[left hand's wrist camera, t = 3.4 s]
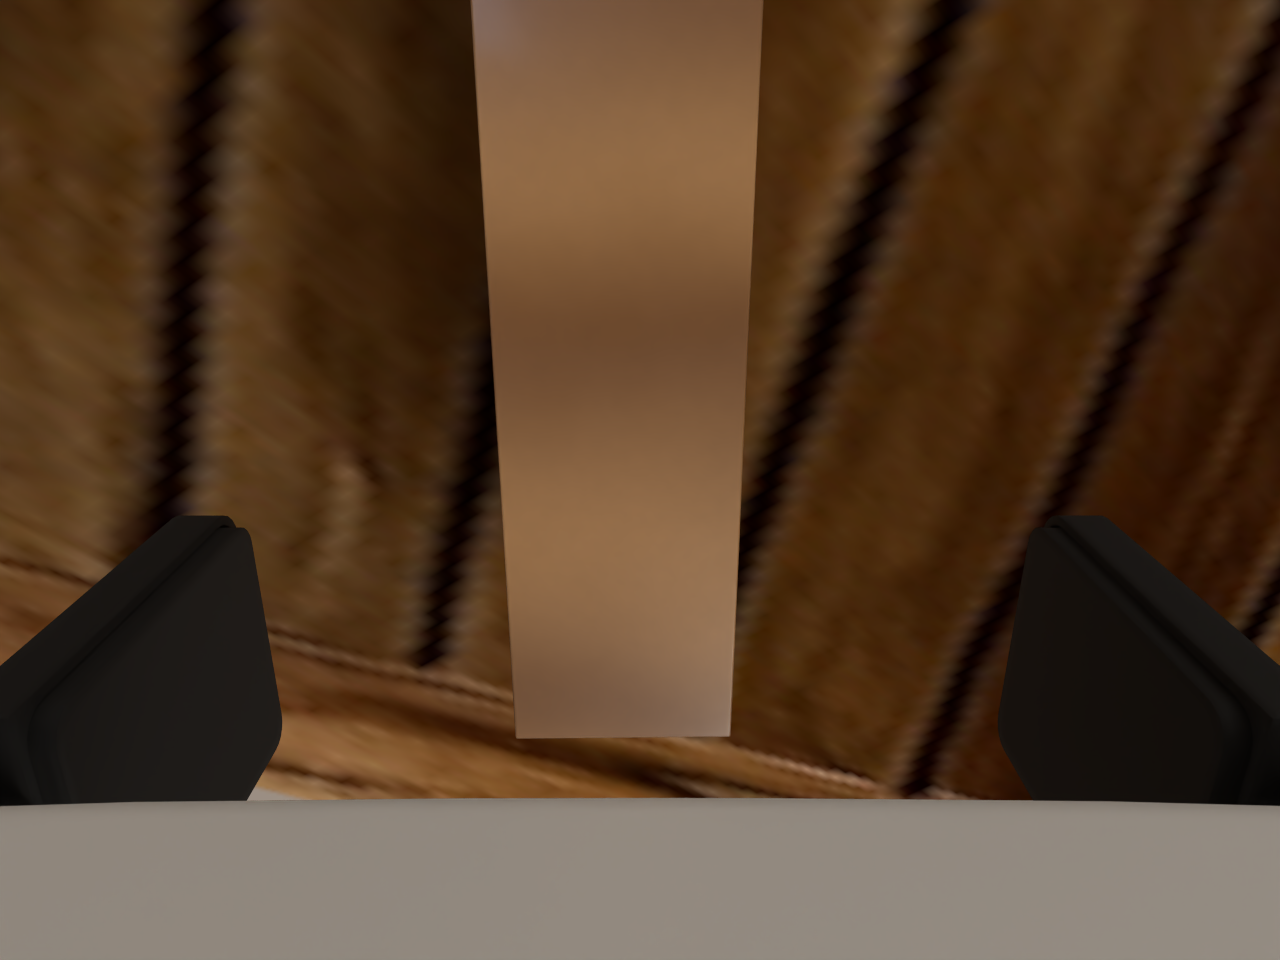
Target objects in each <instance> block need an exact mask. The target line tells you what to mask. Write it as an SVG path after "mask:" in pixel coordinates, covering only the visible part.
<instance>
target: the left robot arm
mask: <svg viewBox="0 0 1280 960" xmlns="http://www.w3.org/2000/svg"><path fill="white" fill-rule="evenodd" d="M281 731H282V714H281V708H280V703H279V697H278V691H277V685H276V679H275V674H274V668H273V662H272V656H271V651H270V645H269V639H268V633H267V627H266V622H265V616H264V610H263V604H262V599H261V593H260V587H259V581H258V576H257V570H256V564H255V558H254V552H253V547H252V542H251V538H250V535H249V533H248V531H247V530H246V529H245V528H236V526H235V524H234V522H233V520H232V519H230V518H229V517H228V516H176V517H174V518H172V519H171V520H170V521H169V522H168V523H167V524H165V525H164V526H163V527H162V528H161V529H160V530H158V531H157V532H156V533H155V534H154V535H153V536H151V537H150V538H149V539H148V540H147V541H146V542H144V543H143V544H142V545H141V546H140V547H139V548H137V549H136V550H135V551H134V552H133V553H132V554H130V555H129V556H128V557H127V558H126V559H125V560H123V561H122V562H121V563H120V564H119V565H118V566H116V567H115V568H114V569H113V570H112V571H111V572H109V573H108V574H107V575H106V576H105V577H104V578H102V579H101V580H100V581H99V582H98V583H97V584H95V585H94V586H93V587H92V588H91V589H90V590H88V591H87V592H86V593H85V594H84V595H83V596H81V597H80V598H79V599H78V600H77V601H76V602H74V603H73V604H72V605H71V606H70V607H69V608H67V609H66V610H65V611H64V612H63V613H62V614H60V615H59V616H58V617H57V618H56V619H55V620H53V621H52V622H51V623H50V624H49V625H48V626H46V627H45V628H44V629H43V630H42V631H41V632H39V633H38V634H37V635H36V636H35V637H34V638H32V639H31V640H30V641H29V642H28V643H27V644H25V645H24V646H23V647H22V648H21V649H20V650H18V651H17V652H16V653H15V654H14V655H13V656H11V657H10V658H9V659H8V660H7V661H6V662H4V663H3V664H2V665H1V666H0V960H1280V666H1279V665H1278V664H1277V663H1276V662H1274V661H1273V660H1272V659H1271V658H1270V657H1269V656H1267V655H1266V654H1265V653H1264V652H1263V651H1262V650H1260V649H1259V648H1258V647H1257V646H1256V645H1255V644H1253V643H1252V642H1251V641H1250V640H1249V639H1248V638H1246V637H1245V636H1244V635H1243V634H1242V633H1241V632H1239V631H1238V630H1237V629H1236V628H1235V627H1234V626H1232V625H1231V624H1230V623H1229V622H1228V621H1227V620H1225V619H1224V618H1223V617H1222V616H1221V615H1220V614H1218V613H1217V612H1216V611H1215V610H1214V609H1213V608H1211V607H1210V606H1209V605H1208V604H1207V603H1206V602H1204V601H1203V600H1202V599H1201V598H1200V597H1199V596H1197V595H1196V594H1195V593H1194V592H1193V591H1192V590H1190V589H1189V588H1188V587H1187V586H1186V585H1185V584H1183V583H1182V582H1181V581H1180V580H1179V579H1178V578H1176V577H1175V576H1174V575H1173V574H1172V573H1171V572H1169V571H1168V570H1167V569H1166V568H1165V567H1164V566H1162V565H1161V564H1160V563H1159V562H1158V561H1157V560H1155V559H1154V558H1153V557H1152V556H1151V555H1150V554H1148V553H1147V552H1146V551H1145V550H1144V549H1143V548H1141V547H1140V546H1139V545H1138V544H1137V543H1136V542H1134V541H1133V540H1132V539H1131V538H1130V537H1129V536H1127V535H1126V534H1125V533H1124V532H1123V531H1122V530H1120V529H1119V528H1118V527H1117V526H1116V525H1115V524H1113V523H1112V522H1111V521H1110V520H1109V519H1108V518H1106V517H1104V516H1052V517H1051V518H1050V519H1048V520H1047V522H1046V524H1045V526H1044V528H1035V529H1034V530H1033V531H1032V533H1031V535H1030V538H1029V542H1028V547H1027V552H1026V558H1025V564H1024V570H1023V576H1022V581H1021V587H1020V593H1019V599H1018V604H1017V610H1016V616H1015V622H1014V628H1013V633H1012V639H1011V645H1010V651H1009V656H1008V662H1007V668H1006V674H1005V679H1004V685H1003V691H1002V697H1001V703H1000V708H999V714H998V731H999V737H1000V741H1001V744H1002V746H1003V749H1004V751H1005V752H1006V754H1007V756H1008V757H1009V759H1010V761H1011V763H1012V764H1013V766H1014V768H1015V770H1016V771H1017V773H1018V775H1019V777H1020V778H1021V780H1022V782H1023V783H1024V785H1025V787H1026V789H1027V790H1028V792H1029V794H1030V796H1031V797H1032V799H1033V801H1011V800H895V799H779V798H463V799H367V800H277V801H276V800H275V801H247V799H248V797H249V796H250V794H251V792H252V790H253V789H254V787H255V785H256V783H257V782H258V780H259V778H260V777H261V775H262V773H263V771H264V770H265V768H266V766H267V764H268V763H269V761H270V759H271V757H272V756H273V754H274V752H275V751H276V749H277V746H278V744H279V741H280V737H281Z"/></svg>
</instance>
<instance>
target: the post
mask: <svg viewBox="0 0 1280 960" xmlns="http://www.w3.org/2000/svg"><path fill="white" fill-rule="evenodd" d="M470 4H471V21H472V37H473V53H474V69H475V85H476V102H477V118H478V134H479V150H480V166H481V183H482V199H483V215H484V231H485V248H486V264H487V280H488V296H489V312H490V329H491V345H492V361H493V377H494V393H495V410H496V426H497V442H498V458H499V474H500V491H501V507H502V523H503V539H504V556H505V572H506V588H507V604H508V620H509V637H510V653H511V669H512V685H513V701H514V718H515V734H516V738H621V737H729V736H730V734H731V713H732V690H733V668H734V646H735V623H736V601H737V579H738V556H739V534H740V512H741V490H742V467H743V445H744V423H745V400H746V378H747V356H748V333H749V311H750V289H751V267H752V244H753V222H754V200H755V177H756V155H757V133H758V110H759V88H760V66H761V44H762V21H763V0H470Z"/></svg>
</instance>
